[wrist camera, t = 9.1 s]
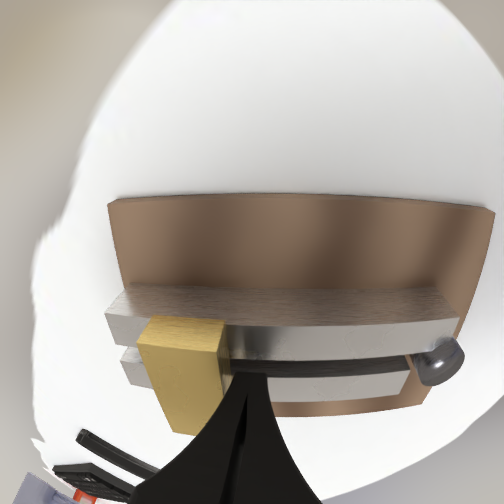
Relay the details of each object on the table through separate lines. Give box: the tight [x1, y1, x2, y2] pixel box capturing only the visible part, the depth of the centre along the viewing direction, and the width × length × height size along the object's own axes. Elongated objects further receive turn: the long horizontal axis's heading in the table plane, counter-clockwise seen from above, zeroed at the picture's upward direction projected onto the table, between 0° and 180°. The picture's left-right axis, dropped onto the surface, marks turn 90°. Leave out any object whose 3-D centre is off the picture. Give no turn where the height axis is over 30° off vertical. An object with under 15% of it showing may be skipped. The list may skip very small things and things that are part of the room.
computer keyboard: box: [52, 463, 135, 503], centre depth 44 cm, size 45×16×4 cm, turn 134°
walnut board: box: [107, 194, 495, 417], centre depth 16 cm, size 21×16×1 cm
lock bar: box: [136, 315, 232, 436], centre depth 11 cm, size 3×6×2 cm, turn 2°
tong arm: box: [120, 346, 410, 402], centre depth 14 cm, size 15×2×3 cm, turn 92°
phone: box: [76, 429, 160, 480], centre depth 30 cm, size 8×1×15 cm
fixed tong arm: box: [105, 283, 465, 386], centre depth 13 cm, size 18×4×4 cm, turn 92°
